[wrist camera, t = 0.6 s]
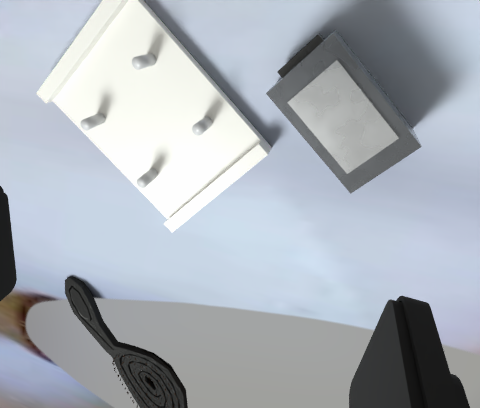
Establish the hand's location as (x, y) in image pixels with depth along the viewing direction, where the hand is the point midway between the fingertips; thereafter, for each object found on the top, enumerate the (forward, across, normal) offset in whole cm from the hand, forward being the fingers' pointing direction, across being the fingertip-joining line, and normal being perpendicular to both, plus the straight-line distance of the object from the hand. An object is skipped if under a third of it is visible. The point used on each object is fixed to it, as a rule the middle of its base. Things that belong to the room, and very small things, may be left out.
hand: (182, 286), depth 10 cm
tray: (+28, +12, +5) cm, 30 cm away
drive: (+27, -4, 0) cm, 28 cm away
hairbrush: (+28, +13, +37) cm, 49 cm away
